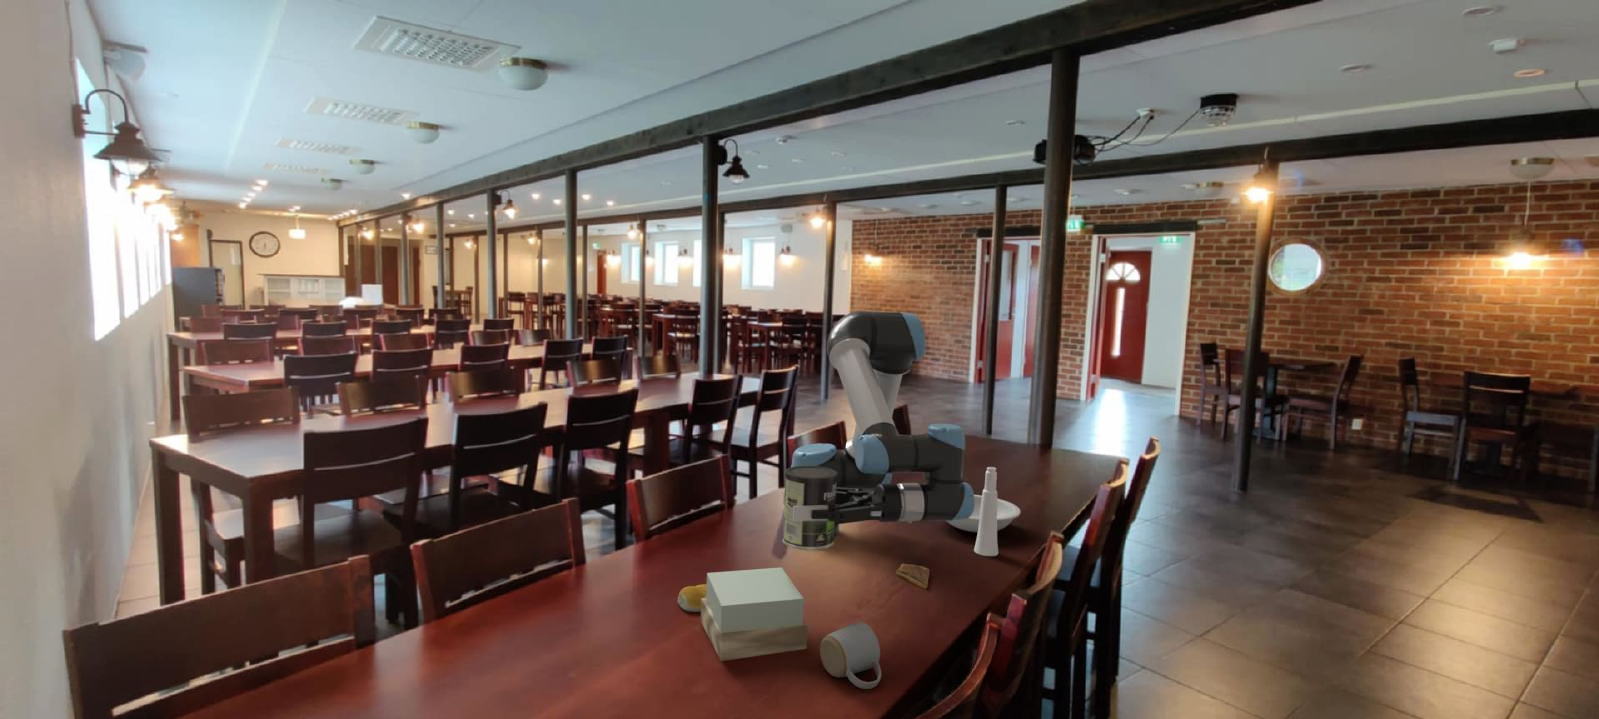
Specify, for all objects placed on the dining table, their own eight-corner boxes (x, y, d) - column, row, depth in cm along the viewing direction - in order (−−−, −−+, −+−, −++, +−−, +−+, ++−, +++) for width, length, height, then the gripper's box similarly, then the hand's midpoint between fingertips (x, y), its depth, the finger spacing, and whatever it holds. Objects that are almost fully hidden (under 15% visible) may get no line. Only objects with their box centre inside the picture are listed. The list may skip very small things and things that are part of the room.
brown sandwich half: (926, 592, 160) (927, 584, 160) (892, 587, 161) (892, 579, 161) (930, 574, 170) (930, 566, 170) (897, 569, 172) (897, 562, 172)
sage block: (706, 597, 141) (706, 573, 140) (780, 591, 145) (781, 567, 145) (720, 633, 126) (721, 605, 126) (802, 625, 131) (803, 598, 130)
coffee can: (840, 537, 145) (843, 468, 144) (825, 554, 136) (828, 480, 134) (792, 530, 149) (795, 462, 147) (774, 546, 139) (776, 474, 138)
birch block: (700, 623, 141) (701, 598, 140) (778, 613, 146) (779, 589, 146) (720, 663, 126) (721, 636, 125) (806, 650, 132) (807, 624, 131)
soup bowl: (1029, 526, 207) (1030, 504, 207) (1004, 550, 187) (1006, 525, 186) (949, 510, 220) (950, 489, 219) (918, 531, 200) (919, 507, 199)
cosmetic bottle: (972, 554, 183) (977, 469, 181) (975, 546, 189) (980, 464, 187) (996, 558, 181) (1002, 472, 179) (999, 550, 186) (1005, 466, 184)
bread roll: (729, 607, 148) (729, 588, 147) (688, 616, 143) (689, 597, 142) (711, 592, 155) (711, 574, 154) (672, 600, 150) (672, 582, 149)
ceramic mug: (815, 668, 125) (817, 625, 124) (851, 655, 130) (853, 614, 129) (856, 698, 116) (858, 652, 116) (892, 683, 121) (895, 639, 120)
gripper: (916, 540, 134) (798, 543, 130) (879, 504, 156) (777, 506, 152) (918, 500, 134) (800, 503, 129) (880, 470, 156) (779, 471, 151)
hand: (788, 504), depth 140 cm, fingers closed on coffee can, 10 cm apart
